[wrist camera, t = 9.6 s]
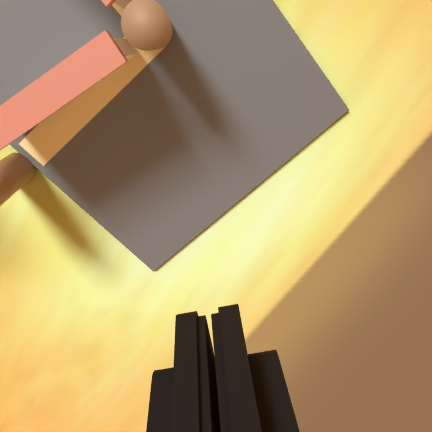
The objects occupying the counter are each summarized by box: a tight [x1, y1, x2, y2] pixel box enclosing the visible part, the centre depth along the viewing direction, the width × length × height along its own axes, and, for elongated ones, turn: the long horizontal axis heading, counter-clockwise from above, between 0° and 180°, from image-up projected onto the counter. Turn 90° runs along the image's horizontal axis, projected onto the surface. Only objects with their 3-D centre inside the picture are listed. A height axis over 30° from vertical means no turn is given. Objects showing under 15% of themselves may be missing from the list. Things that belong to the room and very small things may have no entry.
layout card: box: [0, 0, 349, 271], centre depth 27 cm, size 20×26×1 cm
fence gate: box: [0, 30, 138, 150], centre depth 23 cm, size 10×2×8 cm, turn 122°
